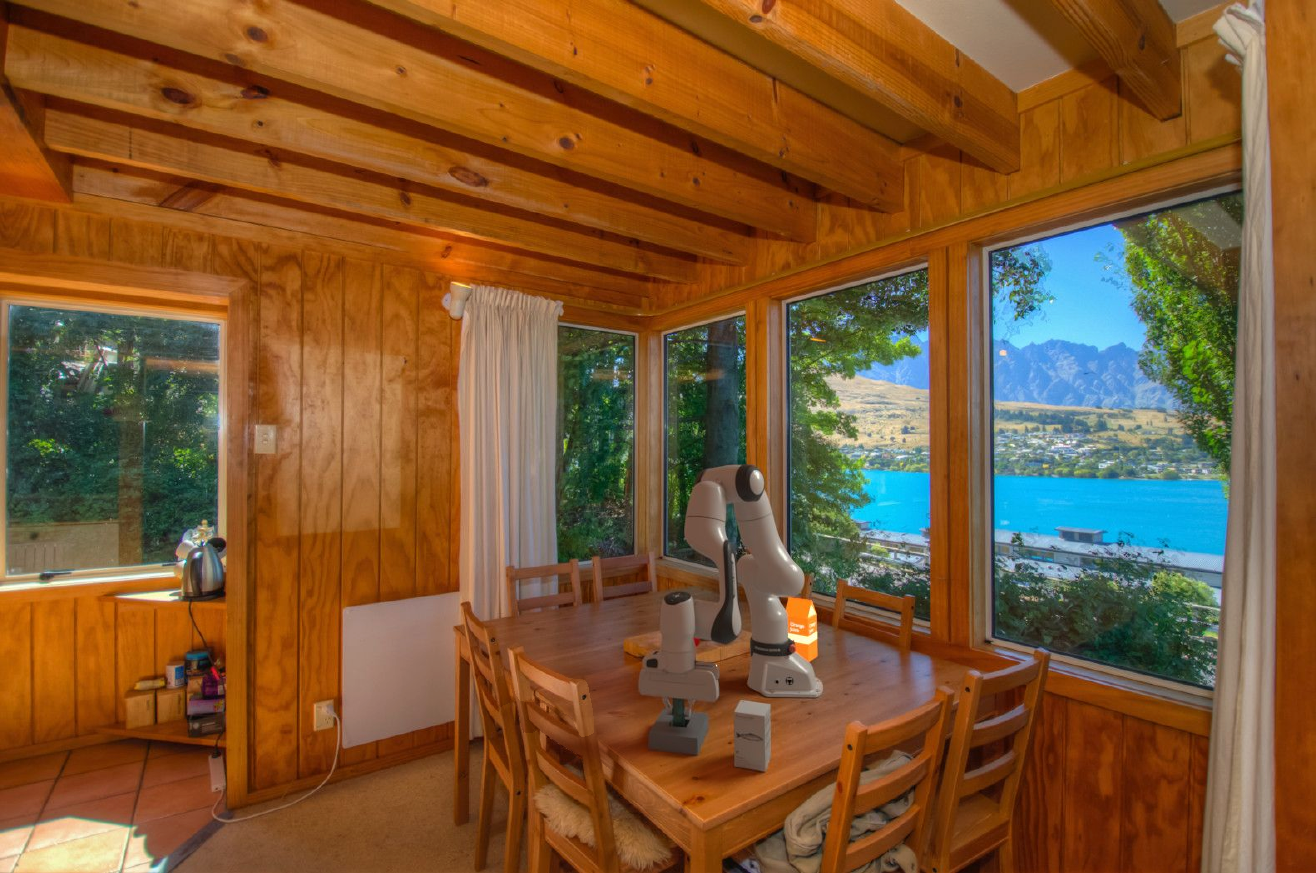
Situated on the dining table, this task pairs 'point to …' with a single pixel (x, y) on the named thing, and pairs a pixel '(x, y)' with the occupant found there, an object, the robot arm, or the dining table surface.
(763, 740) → the supplement box
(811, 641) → the orange juice
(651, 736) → the hole block
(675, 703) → the teal peg
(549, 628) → the dining table surface
